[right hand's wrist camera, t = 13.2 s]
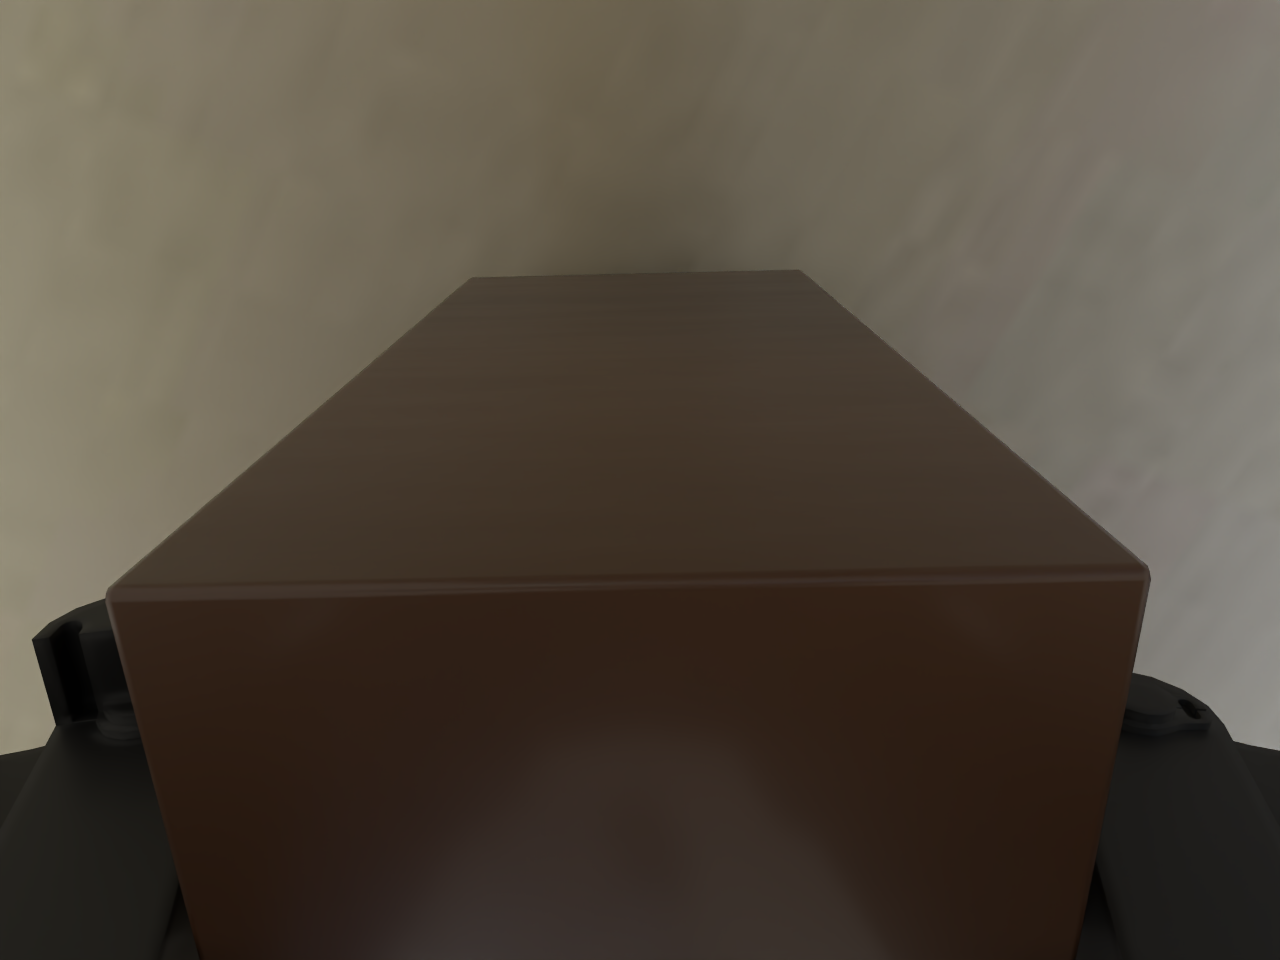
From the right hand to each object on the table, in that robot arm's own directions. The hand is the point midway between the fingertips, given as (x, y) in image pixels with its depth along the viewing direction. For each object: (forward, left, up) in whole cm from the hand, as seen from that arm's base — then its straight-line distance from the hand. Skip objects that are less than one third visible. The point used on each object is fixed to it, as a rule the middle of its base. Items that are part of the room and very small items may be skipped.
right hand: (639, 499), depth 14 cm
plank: (+11, +8, -1) cm, 14 cm away
